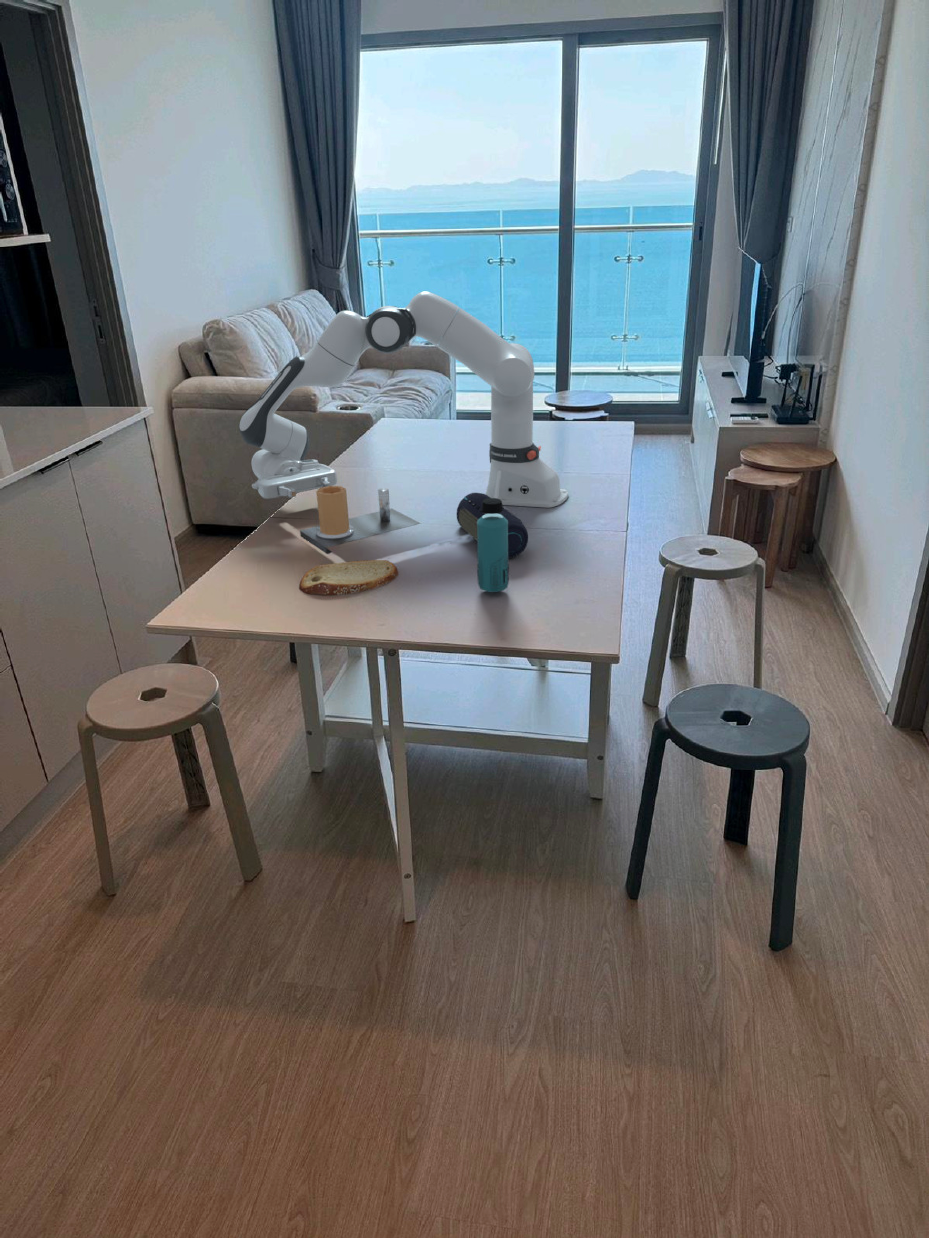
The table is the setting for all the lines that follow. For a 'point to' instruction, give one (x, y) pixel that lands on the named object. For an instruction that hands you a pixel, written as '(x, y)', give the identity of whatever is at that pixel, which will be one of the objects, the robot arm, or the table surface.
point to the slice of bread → (347, 577)
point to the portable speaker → (472, 512)
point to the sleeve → (333, 510)
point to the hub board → (362, 525)
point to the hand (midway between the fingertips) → (310, 490)
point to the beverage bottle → (492, 547)
